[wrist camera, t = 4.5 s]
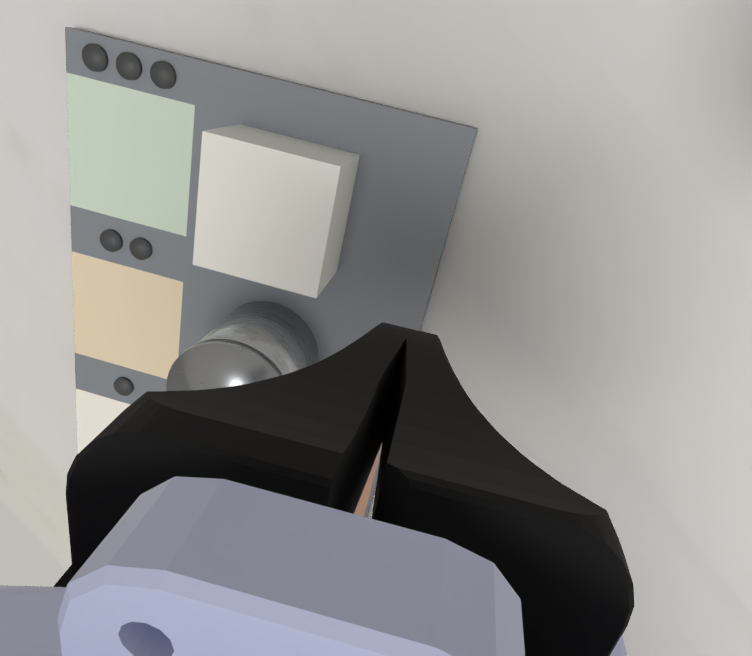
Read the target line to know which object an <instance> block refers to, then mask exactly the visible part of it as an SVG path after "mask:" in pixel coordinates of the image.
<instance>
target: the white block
mask: <svg viewBox="0 0 752 656" xmlns="http://www.w3.org/2000/svg"><path fill="white" fill-rule="evenodd" d="M359 157H360V155H359V154H355V153H351V152H347V151H343V150H339V149H335V148H332V147H328V146H324V145H320V144H316V143H312V142H308V141H304V140H300V139H296V138H292V137H289V136H285V135H281V134H277V133H273V132H269V131H265V130H261V129H257V128H253V127H249V126H246V125H242V124H238V125H233V126H227V127H221V128H216V129H210V130H205V131H202V143H201V156H200V170H199V184H198V197H197V211H196V224H195V238H194V252H193V265H196V266H200V267H203V268H207V269H211V270H214V271H218V272H222V273H225V274H229V275H232V276H236V277H240V278H243V279H247V280H251V281H254V282H258V283H262V284H265V285H269V286H273V287H276V288H280V289H284V290H287V291H291V292H294V293H298V294H302V295H305V296H309V297H313V298H317V297H318V296H319V294H320V293H321V292H322V290H323V289H324V288H325V286H326V285H327V284H328V282H329V281H330V280H331V278H332V277H333V276H334V274H335V273H336V272H337V268H338V263H339V258H340V253H341V248H342V243H343V238H344V233H345V228H346V223H347V218H348V212H349V207H350V202H351V197H352V192H353V187H354V182H355V177H356V172H357V167H358V162H359Z"/></svg>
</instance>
